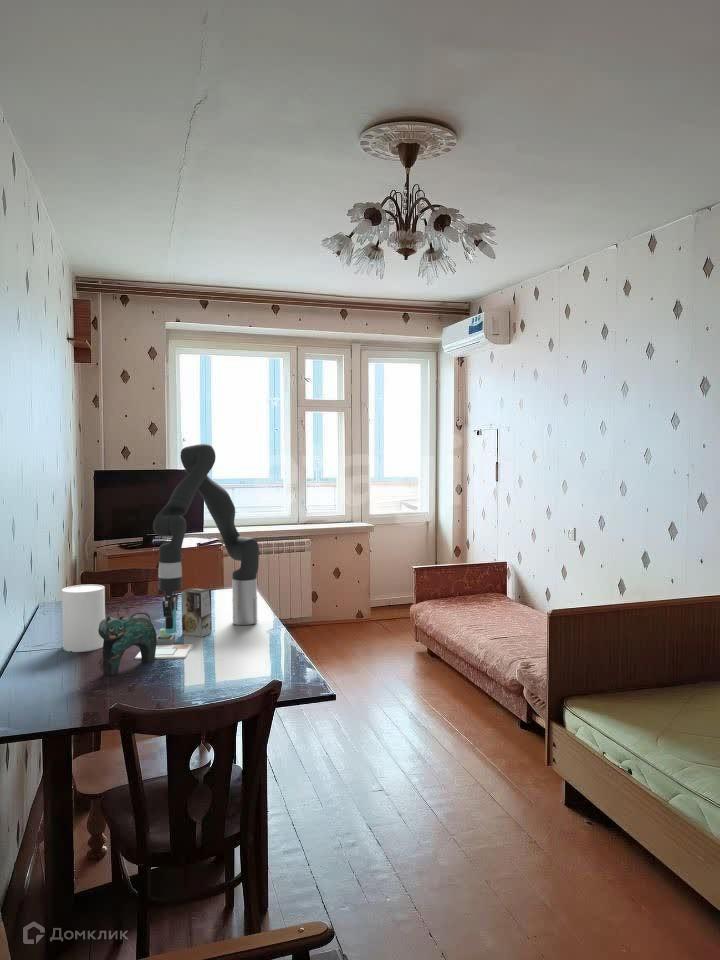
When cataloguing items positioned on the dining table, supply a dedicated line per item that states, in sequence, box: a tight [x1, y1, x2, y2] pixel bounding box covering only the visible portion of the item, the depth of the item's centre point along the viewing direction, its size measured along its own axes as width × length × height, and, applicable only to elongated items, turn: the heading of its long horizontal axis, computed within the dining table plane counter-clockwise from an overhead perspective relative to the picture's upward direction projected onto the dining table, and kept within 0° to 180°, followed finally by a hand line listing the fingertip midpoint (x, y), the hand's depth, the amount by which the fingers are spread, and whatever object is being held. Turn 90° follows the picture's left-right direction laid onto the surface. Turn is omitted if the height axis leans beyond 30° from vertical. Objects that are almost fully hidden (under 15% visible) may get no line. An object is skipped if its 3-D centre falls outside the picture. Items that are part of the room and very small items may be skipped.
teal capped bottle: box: [164, 601, 177, 634], centre depth 233 cm, size 4×4×10 cm
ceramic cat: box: [98, 604, 157, 677], centre depth 219 cm, size 20×6×20 cm, turn 148°
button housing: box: [156, 634, 176, 645], centre depth 245 cm, size 6×6×2 cm
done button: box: [158, 627, 171, 639], centre depth 245 cm, size 4×4×3 cm
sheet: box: [134, 643, 194, 661], centre depth 235 cm, size 16×14×1 cm
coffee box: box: [180, 587, 213, 638], centre depth 258 cm, size 9×6×16 cm
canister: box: [61, 583, 106, 653], centre depth 242 cm, size 14×14×20 cm
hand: (170, 626), depth 234 cm, fingers closed on teal capped bottle, 3 cm apart
